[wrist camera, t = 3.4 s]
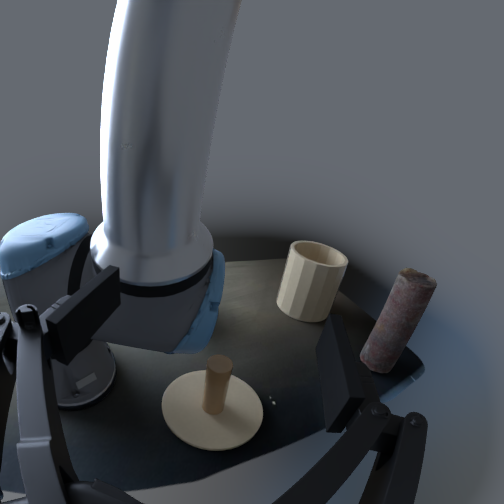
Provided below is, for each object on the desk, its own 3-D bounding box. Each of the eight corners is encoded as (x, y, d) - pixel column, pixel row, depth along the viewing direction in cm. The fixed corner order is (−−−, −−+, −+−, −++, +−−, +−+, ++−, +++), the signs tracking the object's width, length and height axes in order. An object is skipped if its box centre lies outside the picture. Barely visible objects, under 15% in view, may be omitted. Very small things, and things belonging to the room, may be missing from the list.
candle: (377, 383, 44) (430, 289, 36) (350, 360, 49) (392, 267, 41) (396, 367, 48) (442, 280, 40) (370, 347, 53) (410, 261, 45)
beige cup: (275, 316, 59) (291, 258, 54) (277, 287, 70) (290, 236, 65) (332, 326, 58) (353, 271, 53) (325, 296, 70) (342, 248, 65)
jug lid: (148, 435, 28) (140, 389, 24) (178, 365, 41) (180, 315, 37) (256, 461, 28) (276, 423, 24) (265, 385, 41) (281, 338, 37)
